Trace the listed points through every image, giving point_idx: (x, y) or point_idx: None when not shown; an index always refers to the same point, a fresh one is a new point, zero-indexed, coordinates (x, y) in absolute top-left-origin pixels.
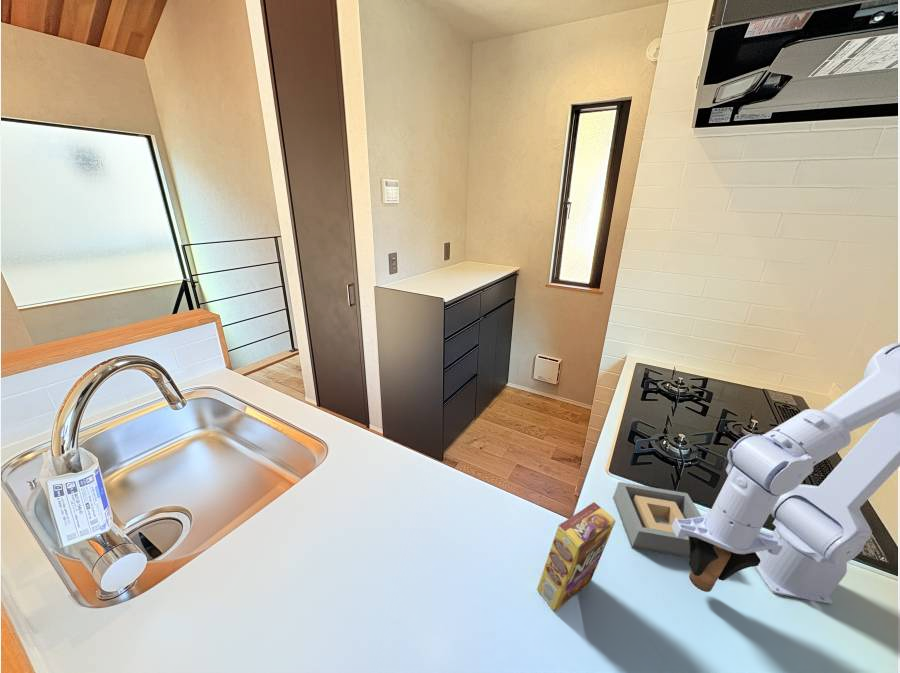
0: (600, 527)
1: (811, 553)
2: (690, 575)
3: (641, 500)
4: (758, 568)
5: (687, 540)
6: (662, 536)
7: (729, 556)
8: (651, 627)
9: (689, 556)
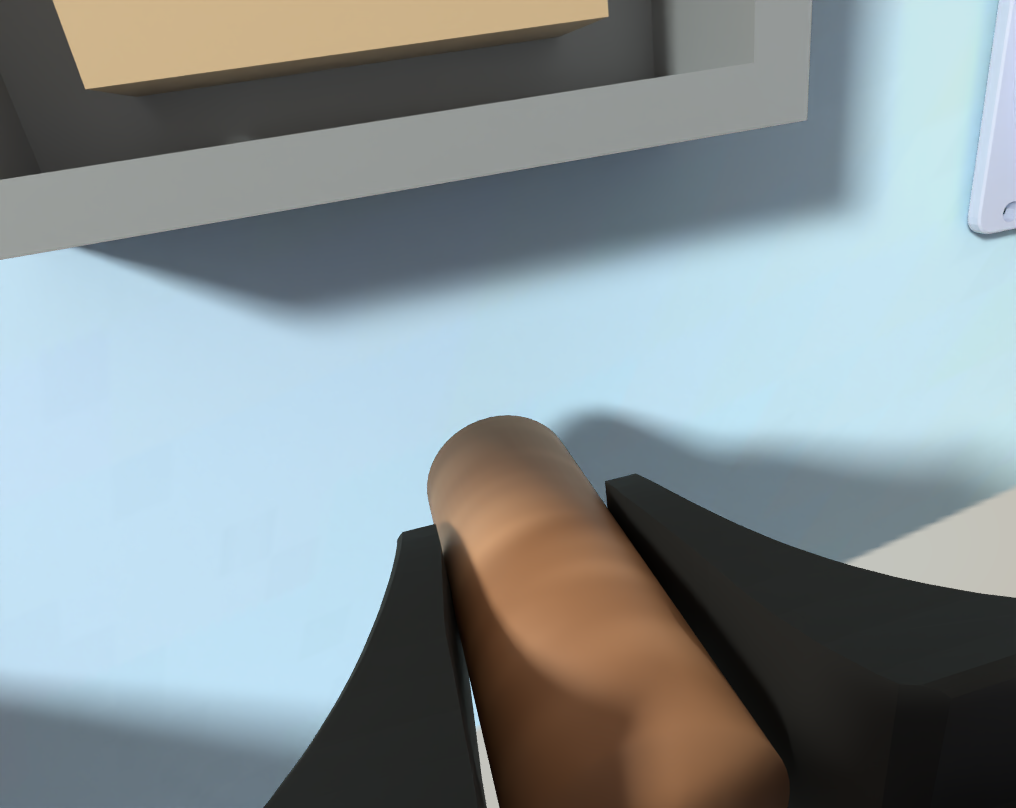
0: None
1: None
2: (430, 499)
3: None
4: (1005, 64)
5: (491, 171)
6: (211, 221)
7: None
8: (183, 728)
9: (391, 574)
